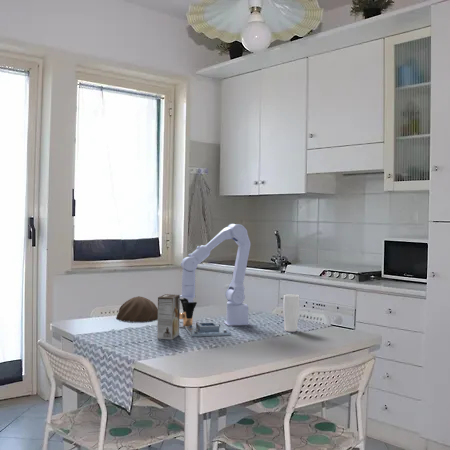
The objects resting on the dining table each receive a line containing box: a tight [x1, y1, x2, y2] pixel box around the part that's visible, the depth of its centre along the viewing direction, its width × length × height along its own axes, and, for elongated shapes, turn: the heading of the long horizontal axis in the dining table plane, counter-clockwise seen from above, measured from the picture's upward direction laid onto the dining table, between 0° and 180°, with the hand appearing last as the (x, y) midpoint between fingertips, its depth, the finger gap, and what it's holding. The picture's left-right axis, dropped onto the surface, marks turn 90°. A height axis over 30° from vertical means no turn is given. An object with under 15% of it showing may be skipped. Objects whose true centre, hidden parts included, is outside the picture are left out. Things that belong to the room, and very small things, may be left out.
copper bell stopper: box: [179, 311, 194, 328], centre depth 238 cm, size 6×4×6 cm, turn 103°
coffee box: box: [156, 293, 181, 341], centre depth 216 cm, size 9×6×16 cm
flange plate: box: [184, 321, 232, 337], centre depth 227 cm, size 16×16×3 cm
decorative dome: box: [115, 296, 158, 323], centre depth 254 cm, size 19×20×10 cm
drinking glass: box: [282, 293, 301, 333], centre depth 232 cm, size 7×7×15 cm
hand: (187, 316), depth 238 cm, fingers open, 7 cm apart
